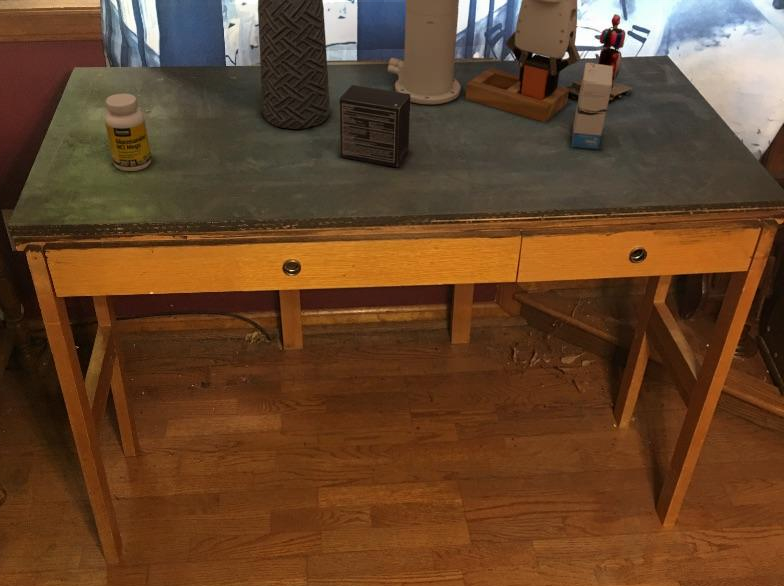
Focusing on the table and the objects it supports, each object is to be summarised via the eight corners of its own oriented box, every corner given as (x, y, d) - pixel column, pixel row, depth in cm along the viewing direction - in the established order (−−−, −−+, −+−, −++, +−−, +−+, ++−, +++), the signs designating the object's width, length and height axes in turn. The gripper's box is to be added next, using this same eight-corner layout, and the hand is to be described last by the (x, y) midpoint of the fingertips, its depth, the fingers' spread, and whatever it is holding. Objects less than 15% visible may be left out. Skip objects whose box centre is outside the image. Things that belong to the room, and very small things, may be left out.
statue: (589, 85, 172) (608, 5, 163) (629, 98, 167) (651, 17, 158) (558, 94, 165) (575, 11, 156) (599, 109, 160) (620, 24, 151)
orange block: (520, 94, 159) (524, 61, 155) (531, 85, 162) (535, 54, 158) (542, 99, 157) (547, 67, 153) (552, 91, 160) (557, 59, 156)
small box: (410, 151, 148) (412, 92, 140) (398, 169, 143) (400, 108, 136) (352, 141, 150) (352, 82, 143) (339, 157, 145) (338, 98, 138)
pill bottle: (119, 175, 140) (105, 110, 132) (109, 159, 144) (95, 95, 136) (156, 167, 142) (145, 103, 134) (146, 151, 146) (134, 88, 138)
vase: (251, 122, 154) (235, -48, 135) (282, 96, 162) (271, -68, 143) (312, 135, 151) (305, -37, 132) (340, 108, 159) (337, -58, 140)
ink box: (599, 150, 149) (613, 84, 141) (570, 147, 150) (582, 81, 142) (600, 128, 155) (613, 64, 147) (572, 125, 156) (584, 61, 148)
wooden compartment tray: (545, 122, 157) (547, 106, 155) (465, 99, 163) (466, 83, 161) (566, 104, 162) (569, 88, 160) (488, 82, 169) (490, 67, 167)
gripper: (606, -11, 145) (587, 94, 158) (517, -30, 152) (506, 72, 165) (588, 2, 141) (570, 108, 153) (497, -18, 148) (487, 86, 160)
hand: (537, 89), depth 159 cm, fingers closed on orange block, 4 cm apart
